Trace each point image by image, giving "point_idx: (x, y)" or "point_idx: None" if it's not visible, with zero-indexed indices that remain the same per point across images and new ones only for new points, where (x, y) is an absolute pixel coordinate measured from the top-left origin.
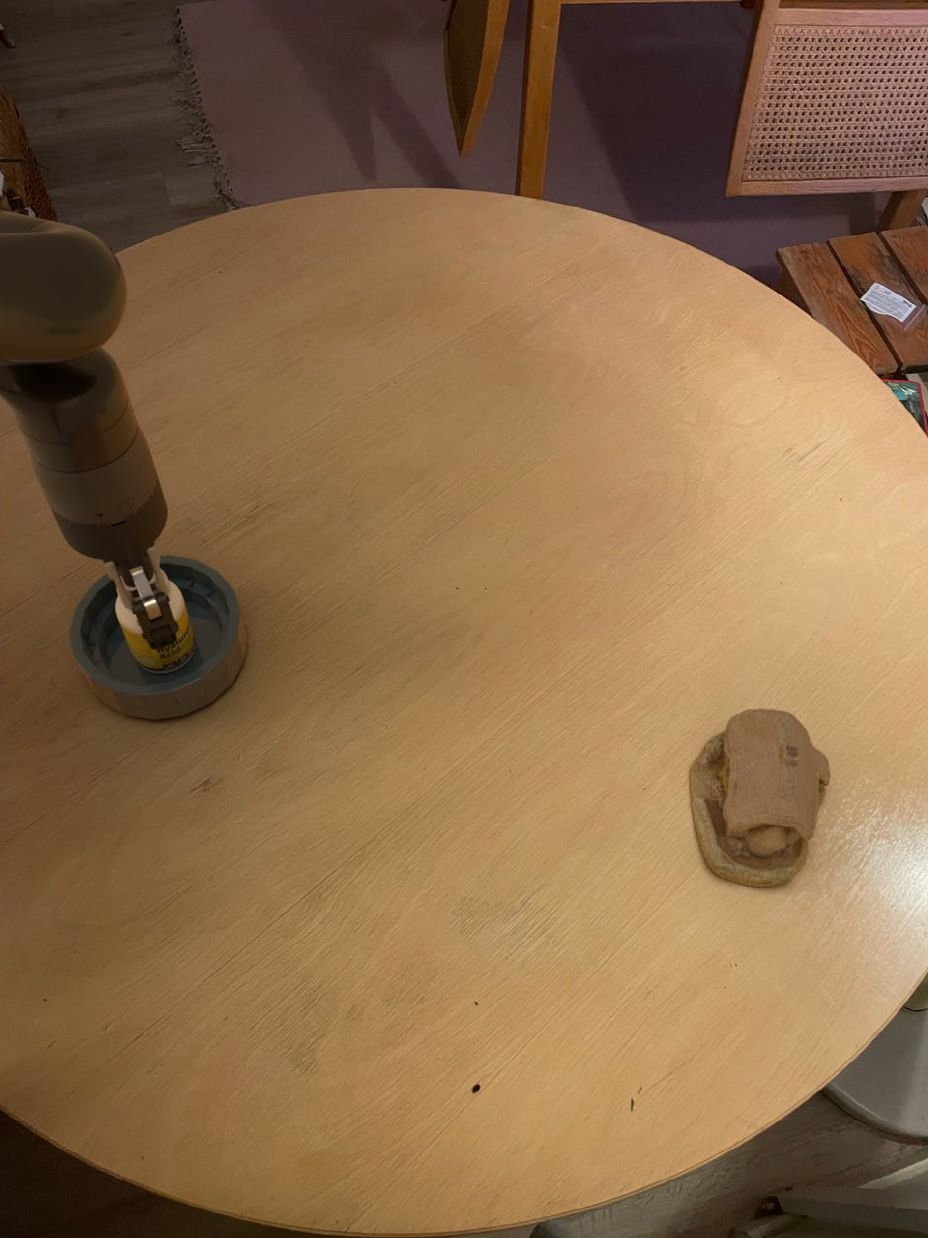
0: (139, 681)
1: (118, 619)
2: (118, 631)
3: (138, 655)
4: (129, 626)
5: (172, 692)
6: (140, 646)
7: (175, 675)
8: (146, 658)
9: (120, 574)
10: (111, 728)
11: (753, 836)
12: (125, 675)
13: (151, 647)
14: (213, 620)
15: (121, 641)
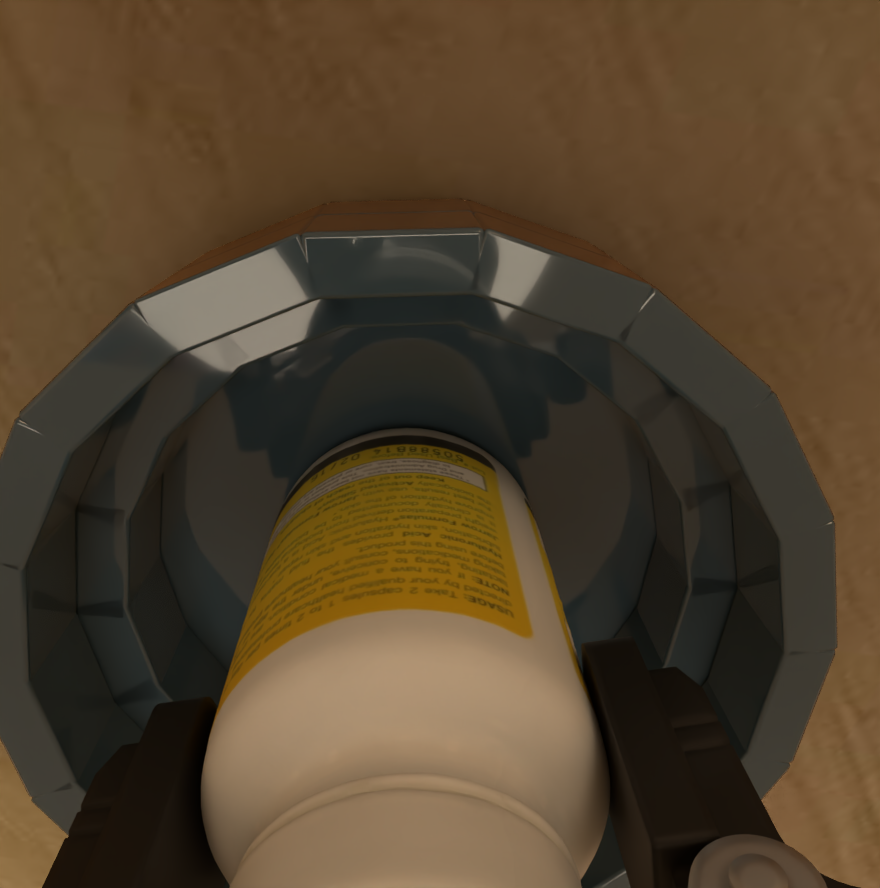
0: (273, 424)
1: (352, 626)
2: (561, 376)
3: (300, 515)
4: (249, 703)
5: None
6: (260, 599)
7: None
8: (270, 548)
9: (634, 790)
10: (98, 260)
11: None
12: (320, 373)
13: (155, 714)
14: None
15: (502, 382)
